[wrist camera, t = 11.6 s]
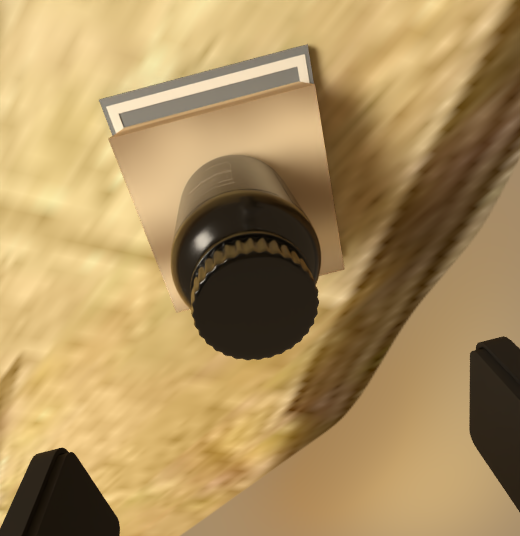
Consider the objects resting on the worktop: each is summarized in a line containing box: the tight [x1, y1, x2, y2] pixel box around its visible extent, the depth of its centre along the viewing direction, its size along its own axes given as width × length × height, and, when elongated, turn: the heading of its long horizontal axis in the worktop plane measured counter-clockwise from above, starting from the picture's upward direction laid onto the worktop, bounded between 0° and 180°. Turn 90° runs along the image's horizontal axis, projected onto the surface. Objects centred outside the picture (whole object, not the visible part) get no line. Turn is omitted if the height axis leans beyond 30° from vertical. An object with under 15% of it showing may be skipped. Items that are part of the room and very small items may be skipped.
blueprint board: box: [99, 44, 314, 135], centre depth 31 cm, size 16×14×1 cm
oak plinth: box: [109, 81, 344, 313], centre depth 28 cm, size 12×12×5 cm
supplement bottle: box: [171, 155, 321, 360], centre depth 20 cm, size 7×7×12 cm
